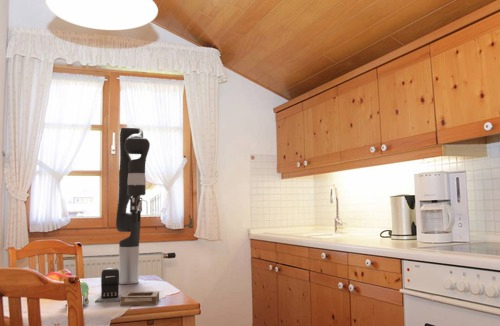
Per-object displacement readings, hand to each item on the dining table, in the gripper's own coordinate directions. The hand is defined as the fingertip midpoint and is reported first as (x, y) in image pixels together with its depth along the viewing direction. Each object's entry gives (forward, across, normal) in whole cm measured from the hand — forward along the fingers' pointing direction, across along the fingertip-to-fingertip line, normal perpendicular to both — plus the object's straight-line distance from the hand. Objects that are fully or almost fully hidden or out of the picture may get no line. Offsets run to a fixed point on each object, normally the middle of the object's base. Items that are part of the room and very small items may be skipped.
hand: (136, 222), depth 194 cm
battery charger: (+29, +10, -8) cm, 32 cm away
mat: (+30, +10, -8) cm, 32 cm away
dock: (+30, +16, +5) cm, 34 cm away
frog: (+30, +18, -18) cm, 39 cm away
